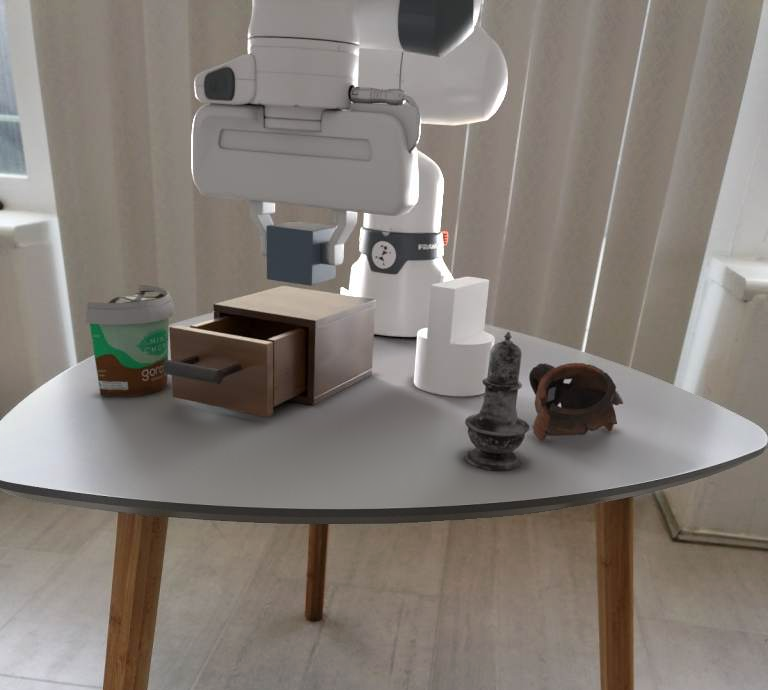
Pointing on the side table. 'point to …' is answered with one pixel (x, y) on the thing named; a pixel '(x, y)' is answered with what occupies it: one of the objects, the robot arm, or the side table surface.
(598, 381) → the pottery mug
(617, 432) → the side table surface
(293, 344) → the drawer
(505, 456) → the salt shaker
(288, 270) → the block
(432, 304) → the cylinder with rectangular tab
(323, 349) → the cabinet
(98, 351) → the food container
